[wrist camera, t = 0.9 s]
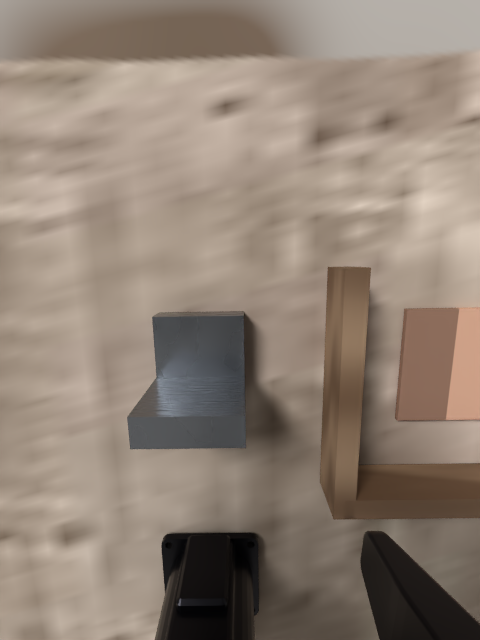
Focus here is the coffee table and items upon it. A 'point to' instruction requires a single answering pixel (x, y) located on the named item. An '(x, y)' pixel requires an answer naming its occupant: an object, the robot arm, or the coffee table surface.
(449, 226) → the coffee table surface
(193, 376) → the angle bracket
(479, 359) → the pad
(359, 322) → the l-shaped wooden corner frame
